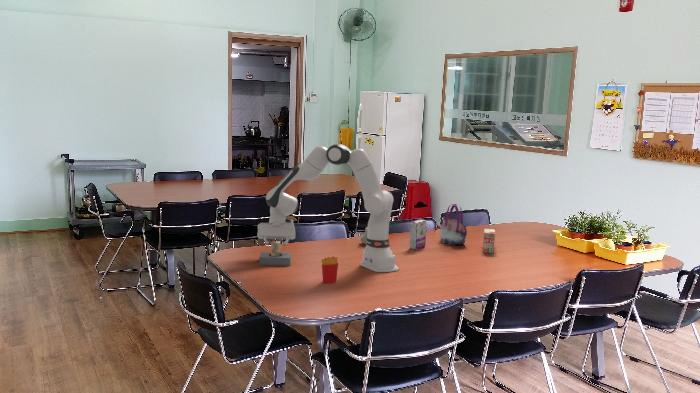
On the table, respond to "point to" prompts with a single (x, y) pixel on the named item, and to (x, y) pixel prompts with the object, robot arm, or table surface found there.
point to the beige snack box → (488, 240)
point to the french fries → (329, 269)
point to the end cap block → (275, 259)
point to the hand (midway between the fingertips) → (275, 244)
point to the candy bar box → (417, 234)
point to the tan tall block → (275, 248)
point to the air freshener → (364, 236)
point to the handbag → (453, 228)
